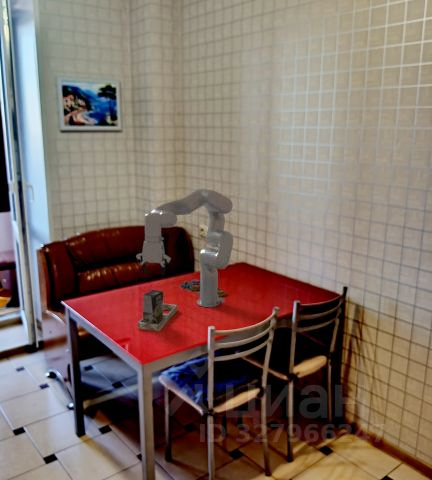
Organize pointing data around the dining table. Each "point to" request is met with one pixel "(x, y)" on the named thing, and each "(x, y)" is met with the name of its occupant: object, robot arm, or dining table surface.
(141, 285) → the dining table surface
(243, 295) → the dining table surface
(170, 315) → the frame
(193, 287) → the gear puzzle
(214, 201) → the robot arm
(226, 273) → the dining table surface
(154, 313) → the coffee box
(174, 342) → the dining table surface
